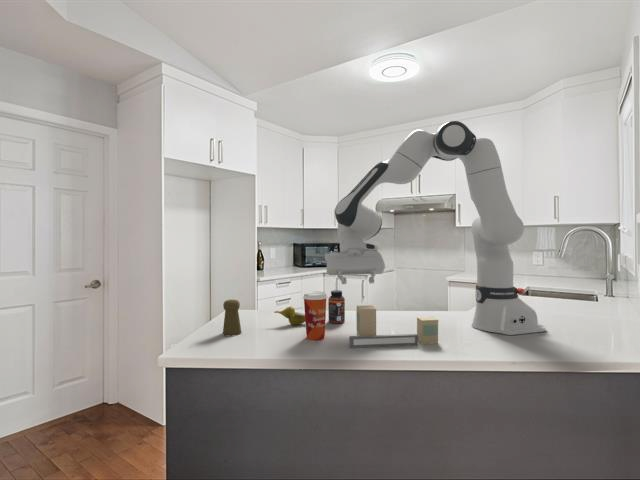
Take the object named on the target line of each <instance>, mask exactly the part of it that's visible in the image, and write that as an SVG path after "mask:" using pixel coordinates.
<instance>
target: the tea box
mask: <svg viewBox="0 0 640 480" xmlns="http://www.w3.org/2000/svg"><path fill="white" fill-rule="evenodd" d="M416 334H417V335H418V343H420V344H421V343H422V344H421V345H430V344H431V343H435V344H439V319H437V318H436V317H434V316H417V317H416ZM427 343H429V344H427Z"/></svg>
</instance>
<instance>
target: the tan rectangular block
mask: <svg viewBox="0 0 640 480" xmlns="http://www.w3.org/2000/svg"><path fill="white" fill-rule="evenodd" d="M355 312H356V336H370V335H377V308H376V307H375V306H374V305H372V304H370V305H356V311H355Z"/></svg>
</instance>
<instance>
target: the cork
mask: <svg viewBox="0 0 640 480" xmlns="http://www.w3.org/2000/svg"><path fill="white" fill-rule="evenodd" d="M240 306H241V305H240V302H239V300H237V299H227V300H225V301H224V302H223V310H224V317H223V318H224V320H223V327H222V335H223V334H224V335H223V336H225V335H230V336H229V337H232V336H231V335H235V336H238V335H241V334H242V328H241V327H242V326H241V320H240V315H239V309H240Z"/></svg>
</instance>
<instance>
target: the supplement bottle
mask: <svg viewBox="0 0 640 480" xmlns="http://www.w3.org/2000/svg"><path fill="white" fill-rule="evenodd" d="M330 295H331V296H329V297H328V298H327V299H328V303H327V304H328V308H327V309H328V322H329V323H331V324H343V323H344V322H345V321H346V320H345V319H346V309H345V305H346V303H345V301H346V298H345V297H344V296H343V291H342V290H337V289H336V290H335V289H334V290H331V292H330Z"/></svg>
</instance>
